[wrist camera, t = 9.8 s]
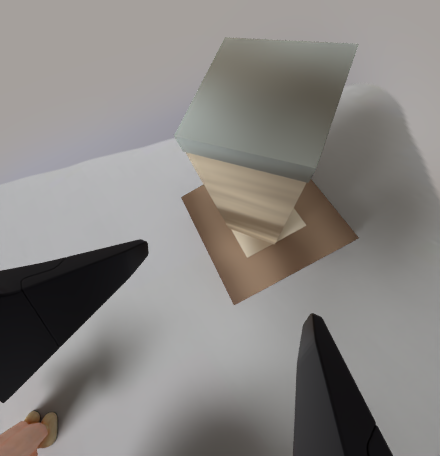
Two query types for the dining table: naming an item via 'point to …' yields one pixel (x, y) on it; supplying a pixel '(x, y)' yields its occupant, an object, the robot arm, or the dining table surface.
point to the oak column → (263, 126)
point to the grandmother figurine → (29, 435)
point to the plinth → (263, 251)
